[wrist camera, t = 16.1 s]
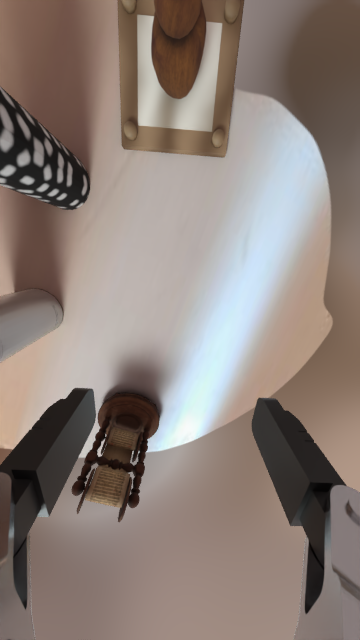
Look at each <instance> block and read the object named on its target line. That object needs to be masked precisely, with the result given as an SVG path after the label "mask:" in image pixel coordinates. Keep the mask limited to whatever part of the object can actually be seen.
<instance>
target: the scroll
mask: <svg viewBox="0 0 360 640" xmlns="http://www.w3.org/2000/svg"><path fill="white" fill-rule="evenodd" d="M98 423H99V426H100V428H101V429H100V430H99V432H98V433H97V434H96V436H95V439H96V441H94V443H93V448H92V450H90V452H88V454H87V456H86V458H85V461H84V463H85V465H84V466H83V468H82V472H81V476H79V477H78V478H77V479H78V481H76V482H75V483H74V485H73V486H72V493H73V495H75V496H77V495H80V494H81V493H82V492H83V490H84V492H83V495H82V497H81V500H80V502H79V505H78V508H77V514H78V513H79V511H80V508H81V506H82V503H83V501H84V498H86V499H85V500H87V501H92V502H96V503H100V504H105V505H110V506H114V507H119V508H120V512H119V517H118V522H120V521H121V520H122V518H123V516H124V513H125V510H126V506H127V503H128V505H129V506H130V507H131V508H135V507H136V506H137V505H138V503H139V495H138V493H140V490H139V489H138V488H139V486H140V484H141V477H142V476H143V474H144V470H145V466H144V463H143V461H144V459H145V452H146V451H147V449H148V446H147V443H148V441H147V439H149V438H150V437H152V436H153V435H154V434H155V432H156V431H157V429H158V426H159V413H158V410H157V408H156V405H155V404H153V403H152V402H150V401H149V400H148V399H146V398H144V397H142V396H139V395H136V394H129V393H125V394H119V393H116V394H115V395H114V396H112V397H110V398H109V399H107V400H106V401H105V402H104V403H103V405H102V406H101V408H100V410H99V413H98ZM105 434H106V435H107V436H106V437H105ZM104 439H105V442H104V444H103V447H102V450H101V454H102V453H103V455H102V456H101V457H98V455H97V450H98V448H99V447H100V446H101V441H103V440H104ZM106 443H107V445H106ZM105 446H106V447H105ZM104 448H105V450H104ZM103 451H104V452H103ZM132 451H134V454H133V458H132V462H134V461H135V460H136V457H137V454H138V451H140V453H139V454H138V462H137V464H136V465H135V466H133V465H132V464H131V463H130V460H131V455H132ZM96 462H97V464H98V465H99V466H98V467H97V468H96V471H95V469H93V470H92V472H91V474H90V477H89V479H88V482H87V484H86V487H85V483H84V482H85V481H87V478H86V476H87V475H88V473H89V472H90V470H91V466H92V465H93V464H95V463H96ZM94 471H95V474H94ZM132 471H133V474H134V476H135V478H134V479H133V489H132V490H131V485H132V478H131V477H130V474H128V472H132ZM93 474H94V476H93ZM92 477H93V479H92ZM91 480H92V481H91ZM90 482H91V484H90ZM89 485H90V486H89ZM130 490H131V495H130ZM129 495H130V496H129ZM85 496H86V497H85Z"/></svg>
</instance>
